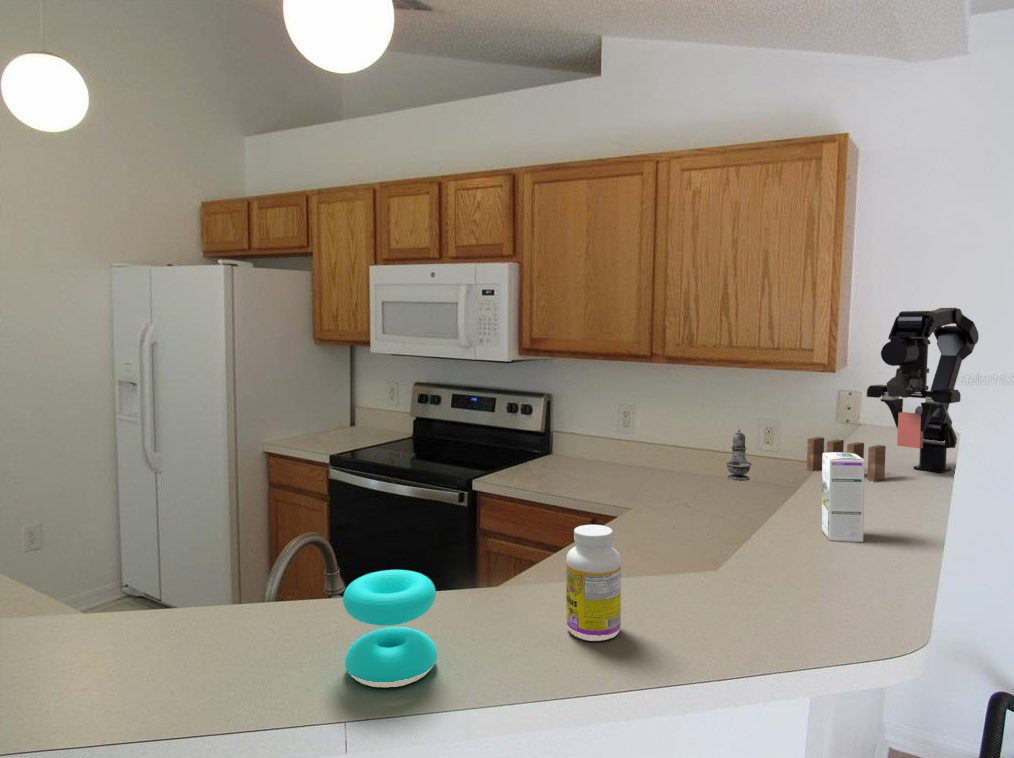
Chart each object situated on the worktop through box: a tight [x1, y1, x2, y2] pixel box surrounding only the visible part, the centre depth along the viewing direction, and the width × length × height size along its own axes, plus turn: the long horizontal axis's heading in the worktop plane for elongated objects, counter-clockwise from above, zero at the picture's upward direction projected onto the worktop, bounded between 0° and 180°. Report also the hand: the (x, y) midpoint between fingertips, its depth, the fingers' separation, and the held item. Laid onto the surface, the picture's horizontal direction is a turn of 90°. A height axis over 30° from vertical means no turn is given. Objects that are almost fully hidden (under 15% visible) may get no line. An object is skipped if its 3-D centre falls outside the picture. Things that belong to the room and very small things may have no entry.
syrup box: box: [820, 451, 865, 543], centre depth 121 cm, size 6×6×14 cm
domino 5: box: [896, 411, 924, 450], centre depth 165 cm, size 2×5×8 cm, turn 37°
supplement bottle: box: [565, 524, 622, 636], centre depth 85 cm, size 7×7×13 cm
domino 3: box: [846, 441, 865, 460], centre depth 167 cm, size 2×5×8 cm, turn 127°
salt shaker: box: [725, 428, 752, 482], centre depth 166 cm, size 6×6×12 cm
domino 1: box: [806, 436, 825, 472], centre depth 175 cm, size 2×5×8 cm, turn 127°
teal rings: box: [342, 569, 438, 682], centre depth 76 cm, size 10×10×10 cm
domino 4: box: [867, 444, 887, 483], centre depth 163 cm, size 2×5×8 cm, turn 127°
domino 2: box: [826, 439, 845, 453], centre depth 171 cm, size 2×5×8 cm, turn 127°
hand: (910, 429), depth 165 cm, fingers closed on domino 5, 5 cm apart
